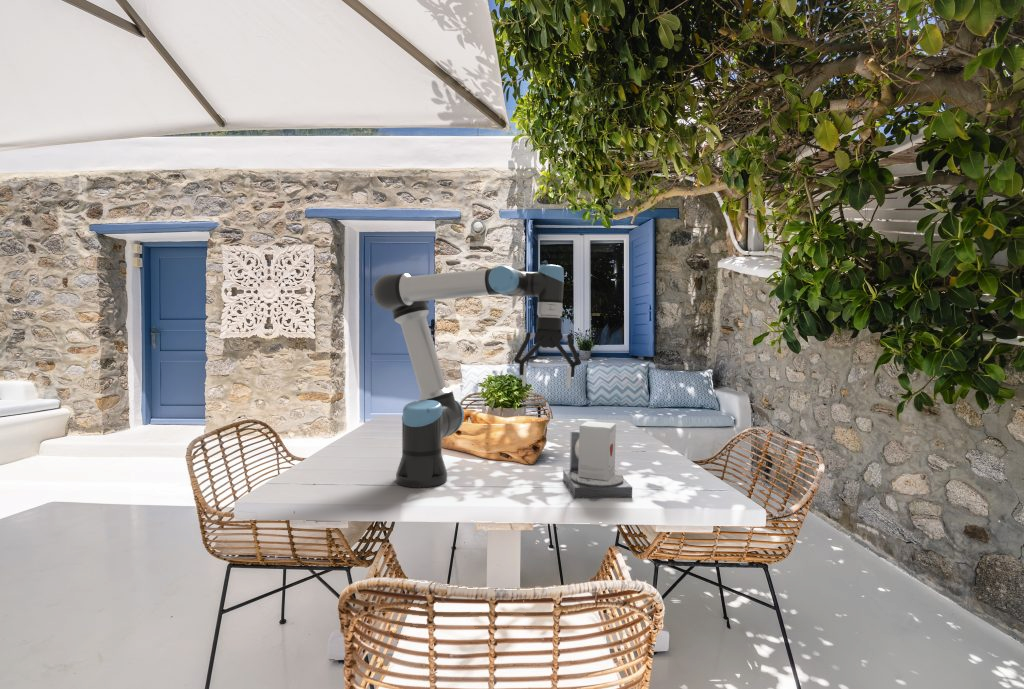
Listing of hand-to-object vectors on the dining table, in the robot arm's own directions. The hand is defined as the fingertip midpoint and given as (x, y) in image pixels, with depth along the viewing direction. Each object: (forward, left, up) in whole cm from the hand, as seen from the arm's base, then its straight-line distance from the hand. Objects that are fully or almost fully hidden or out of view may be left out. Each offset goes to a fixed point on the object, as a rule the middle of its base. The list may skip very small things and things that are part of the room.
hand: (546, 387), depth 160 cm
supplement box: (+14, -10, -25) cm, 30 cm away
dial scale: (+14, -9, -29) cm, 33 cm away
